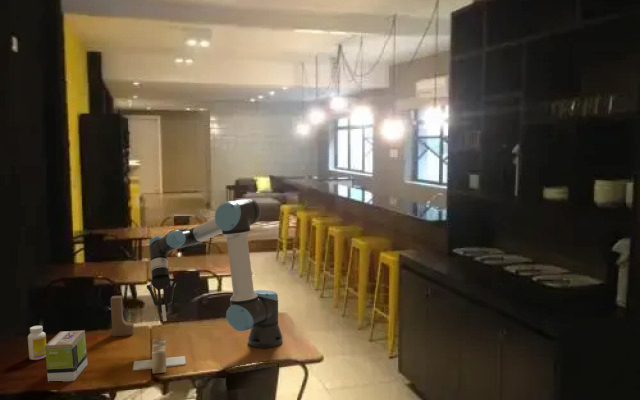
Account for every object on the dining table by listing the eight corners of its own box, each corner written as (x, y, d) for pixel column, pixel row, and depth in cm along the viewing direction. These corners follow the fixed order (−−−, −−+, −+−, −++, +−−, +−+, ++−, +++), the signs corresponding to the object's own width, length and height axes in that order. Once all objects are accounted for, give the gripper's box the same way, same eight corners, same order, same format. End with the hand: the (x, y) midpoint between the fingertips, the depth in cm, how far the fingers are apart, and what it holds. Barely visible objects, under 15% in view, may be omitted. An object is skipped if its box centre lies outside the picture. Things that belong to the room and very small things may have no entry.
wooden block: (134, 332, 258) (132, 294, 256) (132, 335, 253) (131, 297, 251) (113, 333, 256) (112, 295, 254) (112, 336, 251) (110, 298, 249)
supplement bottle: (50, 355, 230) (48, 325, 228) (38, 361, 224) (36, 330, 222) (38, 353, 232) (36, 324, 231) (25, 359, 226) (23, 329, 224)
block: (165, 337, 225) (165, 352, 210) (166, 356, 226) (166, 372, 211) (152, 338, 224) (151, 353, 209) (153, 357, 225) (152, 373, 210)
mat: (185, 357, 227) (185, 355, 227) (185, 364, 219) (185, 363, 219) (134, 362, 222) (134, 361, 222) (133, 370, 214) (132, 369, 214)
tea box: (62, 366, 219) (60, 330, 217) (88, 365, 219) (86, 329, 218) (46, 382, 204) (44, 344, 202) (74, 381, 205) (72, 343, 203)
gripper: (174, 271, 253) (180, 320, 242) (145, 274, 249) (149, 325, 239) (174, 264, 247) (180, 315, 236) (144, 268, 243) (148, 319, 232)
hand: (164, 320), depth 237 cm, fingers closed
